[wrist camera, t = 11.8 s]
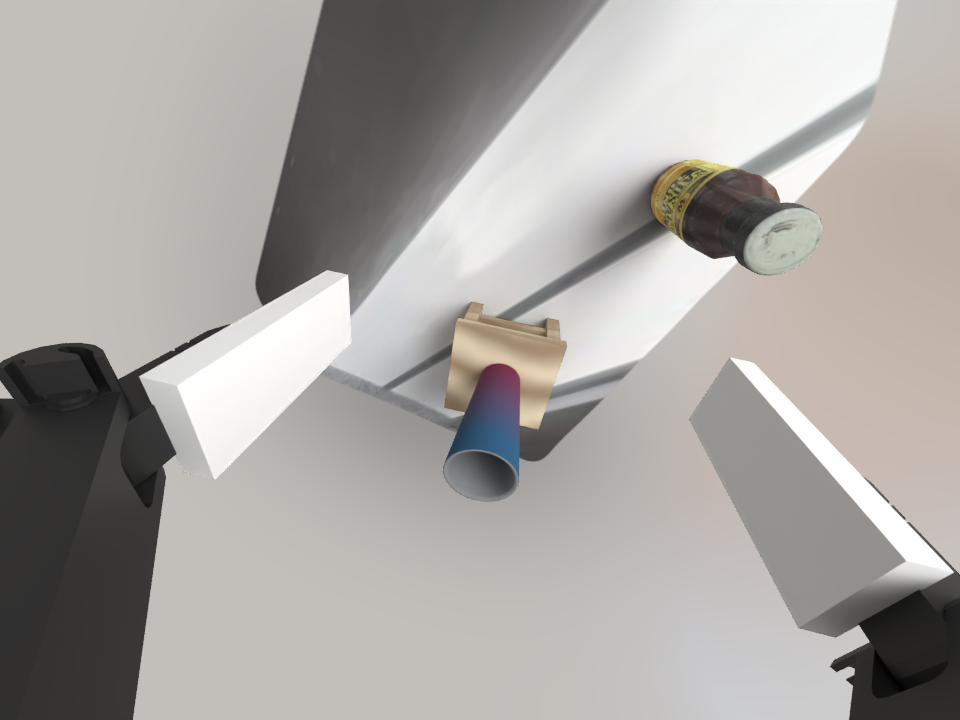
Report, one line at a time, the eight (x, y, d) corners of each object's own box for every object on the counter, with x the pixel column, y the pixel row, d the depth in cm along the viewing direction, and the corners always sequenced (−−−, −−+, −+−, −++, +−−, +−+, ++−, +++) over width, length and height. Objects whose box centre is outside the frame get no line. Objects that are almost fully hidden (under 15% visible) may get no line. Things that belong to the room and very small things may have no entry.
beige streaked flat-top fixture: (468, 297, 47) (455, 322, 40) (563, 318, 46) (566, 347, 39) (457, 374, 54) (444, 407, 47) (539, 393, 53) (538, 429, 46)
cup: (474, 399, 46) (445, 496, 33) (472, 355, 42) (439, 445, 29) (526, 403, 44) (517, 506, 32) (529, 358, 41) (520, 454, 28)
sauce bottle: (662, 153, 35) (767, 160, 19) (724, 165, 35) (887, 183, 18) (636, 220, 39) (704, 277, 22) (692, 232, 38) (804, 298, 22)
